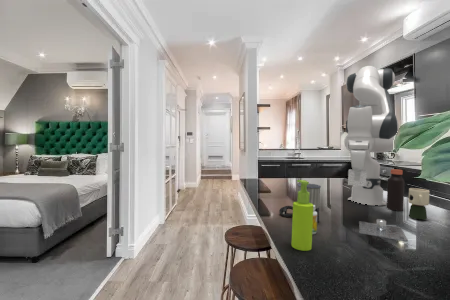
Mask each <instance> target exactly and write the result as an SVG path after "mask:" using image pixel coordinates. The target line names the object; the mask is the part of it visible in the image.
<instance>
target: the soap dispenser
mask: <svg viewBox="0 0 450 300" xmlns="http://www.w3.org/2000/svg"><path fill="white" fill-rule="evenodd" d="M296 182H297V183H299V184H300V183H301V190H300V191H298V190H297V198H298V199H297V200H296V201H293V202H292V206H293V210H292V213H293V217H292V220H291V221H292V222H291V223H292V224H291V244H290V246H291V247H292V248H294V249H295V250H298V251H304V252H305V251H306V252H307V251H311V250H312V246H313V234H312V228H313V204H312V203H309V194H310V193H309V192H308V191H307V184H310V183H309V181H308V180H305V179H298V180H297V179H296Z"/></svg>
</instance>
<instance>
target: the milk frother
mask: <svg viewBox="0 0 450 300" xmlns="http://www.w3.org/2000/svg"><path fill="white" fill-rule="evenodd" d="M296 185H297V192H298V191H300V190H301V183H300V182H299V183H298V184H296ZM321 187H322V186H321V185H319V184H315V183H309V184H307V191H308V192H309V193H310V194H309V203H312V204H313V205H315V206H316V207H315V208H316V209H315V211H316V212H317V225H319V224H320V204H321V203H320V200H321V199H320V198H321V196H320V195H321V194H320V193H321ZM297 199H298V197H297ZM288 210H291V211H293V205H285V206H283V207H280V209H279V211H278V213H279V214H280V216H283V217H286V218H291V217H293V212H292V213H287V211H288Z"/></svg>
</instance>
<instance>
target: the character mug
mask: <svg viewBox="0 0 450 300" xmlns="http://www.w3.org/2000/svg"><path fill="white" fill-rule="evenodd" d="M430 192H431V191H430V190H429V189H424V188H416V187H415V188H414V187H410V188H408V198H407V199H408V200H407V201H408V203H409V204H411V205H410V208H409V213H408V217H409V218H411V219H414V220H416V219H417V220H418V221H419V220H427V219H428V218H427V217H428V216H427V215H428V213H427V208H426V206H429V205H430Z"/></svg>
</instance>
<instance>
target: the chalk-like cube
mask: <svg viewBox="0 0 450 300" xmlns="http://www.w3.org/2000/svg"><path fill="white" fill-rule="evenodd" d="M366 174H367V171H366V170H361V173H360V181H355V174H354V169H351V168H350V169H348V171H347V176H348V177H347V186H353V185H355V186H365V187H366Z"/></svg>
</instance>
